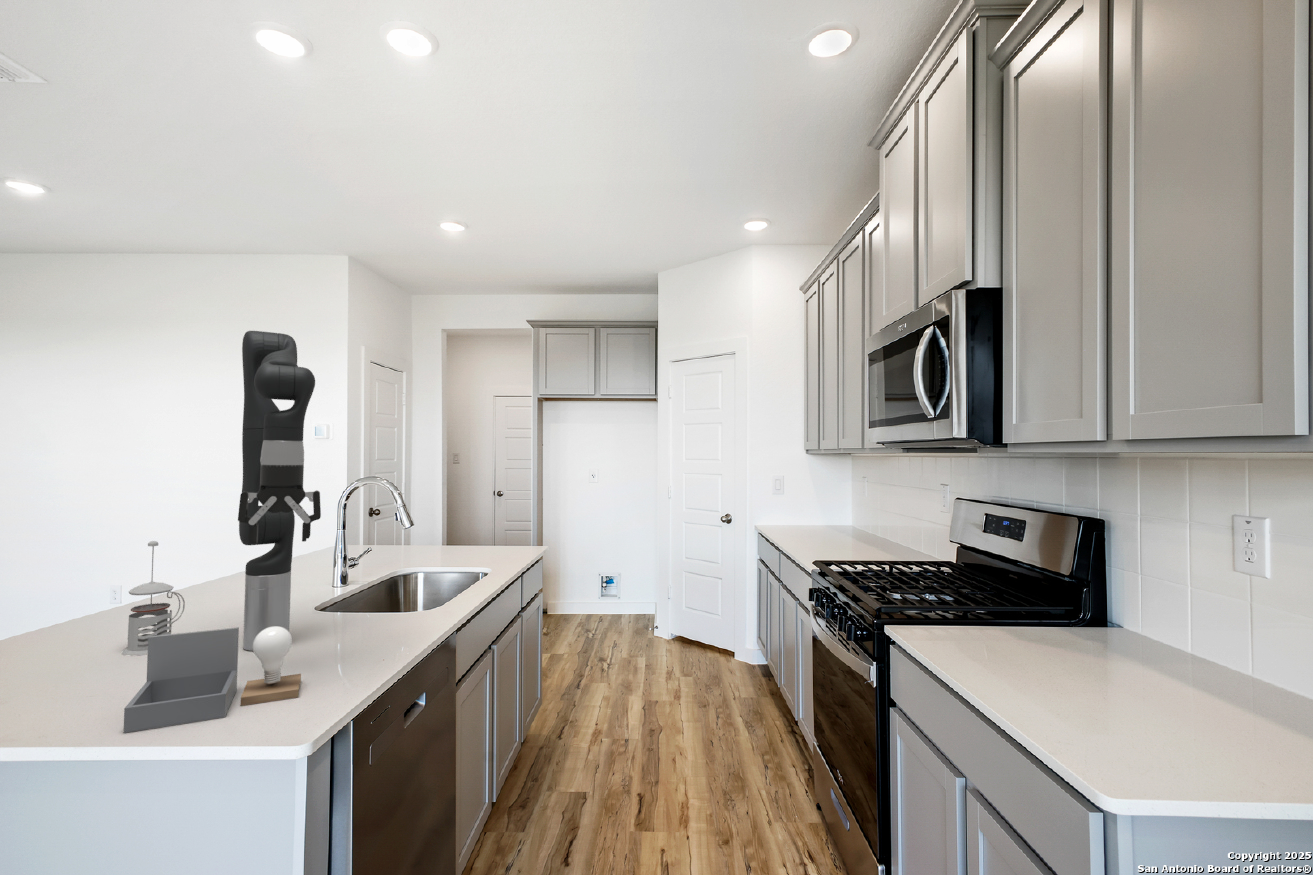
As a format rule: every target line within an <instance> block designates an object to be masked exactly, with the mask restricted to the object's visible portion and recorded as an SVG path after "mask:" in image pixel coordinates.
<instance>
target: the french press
mask: <svg viewBox="0 0 1313 875" xmlns="http://www.w3.org/2000/svg"><path fill="white" fill-rule="evenodd" d="M157 546H159V542H158V541H157V540H151V541H149V542H148V543H147V547H152V557H151V558H152V559H151V581H150V582H147V583H142V584H139V585H137V586H135V587H132V589H130V590H129V591H128V594H129V595H131V596H150V603H148V604H147V603H146V604H141V605H136V606H134V607H131V608H130V612H132V614H131V613H130V614H129V615H128V624H127V625H128V626H127V627H128V628H127V647H126V648H124V649H123V650H122V651H123V652H121V655H123V656H126V655H140V656H146V655H147V656H148V637H149V636H157V635H167V634H172V625H173V623H174V624H175V622H177V621H179V619H180V618H181V617H182V615H183V613H184V610H185V607H186V604H185V603H186V602H185V598H184V597H183V595H182V594H181V593H179V592H176V591H172V590H174V586H173V585H170V584H168V583H164V582H156V581H154V580H153V578H154V573H153V572H154V552H155V550H154V548H155V547H157ZM164 593H166V597H167V599H172V598H173V595H175V596H176V597H177V599H178V600H177V601H178V609H177V611H176V614H175V615H174V616H173V615H172V614H173V610H172V609H170V610H168V608H170V607H171V603H169V602H155V603H153V600H152V599H153V595H159V594H164ZM169 593H171V595H170V596H169ZM180 598H181V599H182V602H183V606H182V611H181V613H180V615H179V616H178V614H179V612H180V610H181V600H180ZM144 616H145V617H144ZM146 616H147V617H146ZM172 616H173V617H172ZM177 616H178V617H177ZM176 617H177V618H176ZM175 618H176V619H175ZM168 619H169V620H168ZM174 619H175V620H174ZM148 627H151V628H148ZM141 628H142V629H141ZM151 632H153V633H151ZM140 634H141V635H140Z"/></svg>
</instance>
